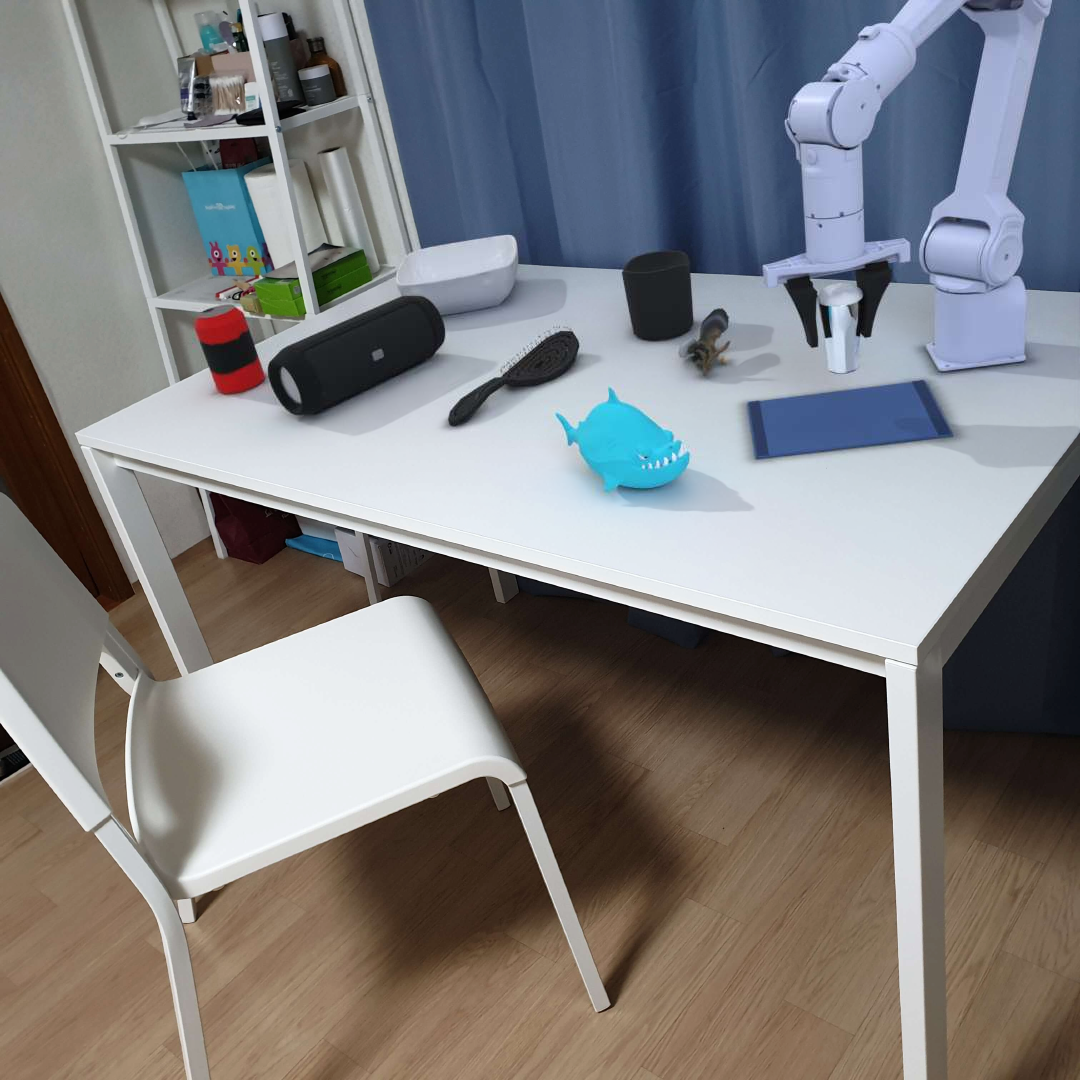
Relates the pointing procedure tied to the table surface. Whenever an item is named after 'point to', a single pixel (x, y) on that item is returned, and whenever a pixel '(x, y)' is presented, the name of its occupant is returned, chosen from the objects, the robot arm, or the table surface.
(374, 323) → the portable speaker
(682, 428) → the table surface
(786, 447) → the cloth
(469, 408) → the hairbrush
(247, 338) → the soda can
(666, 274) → the pen holder
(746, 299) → the table surface
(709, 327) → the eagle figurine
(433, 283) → the bowl
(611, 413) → the toy shark
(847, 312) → the milkshake
